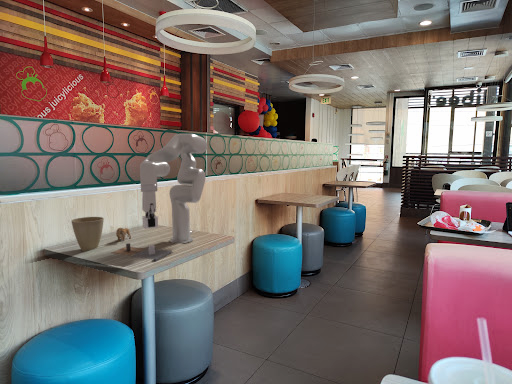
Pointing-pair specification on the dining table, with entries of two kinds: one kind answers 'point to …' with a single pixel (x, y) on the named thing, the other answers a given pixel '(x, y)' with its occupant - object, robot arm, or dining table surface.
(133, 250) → the stand
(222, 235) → the dining table surface
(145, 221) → the white hollow box
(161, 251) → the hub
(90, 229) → the plant pot
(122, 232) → the lion figurine
